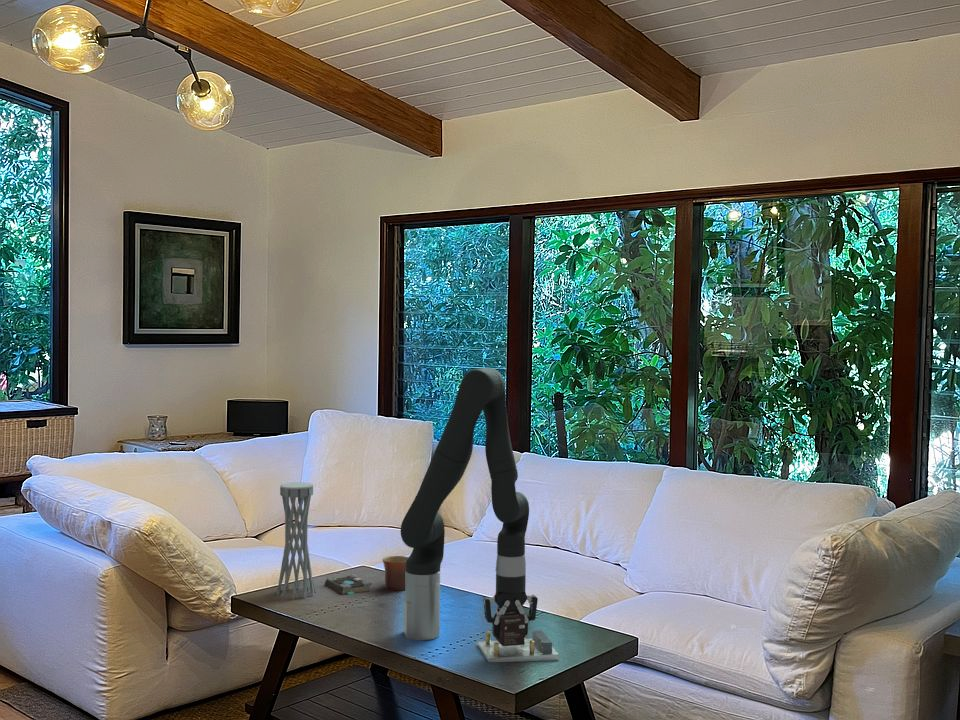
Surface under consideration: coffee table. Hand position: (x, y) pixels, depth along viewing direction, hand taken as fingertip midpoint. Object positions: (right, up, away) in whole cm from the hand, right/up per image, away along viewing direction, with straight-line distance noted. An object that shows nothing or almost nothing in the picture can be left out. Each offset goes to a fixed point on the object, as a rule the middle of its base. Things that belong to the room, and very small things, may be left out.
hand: (510, 637), depth 244 cm
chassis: (+2, -4, +1) cm, 5 cm away
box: (0, -2, 0) cm, 2 cm away
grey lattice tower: (-63, -2, +46) cm, 78 cm away
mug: (-34, -2, +59) cm, 68 cm away
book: (-47, -3, +54) cm, 72 cm away
